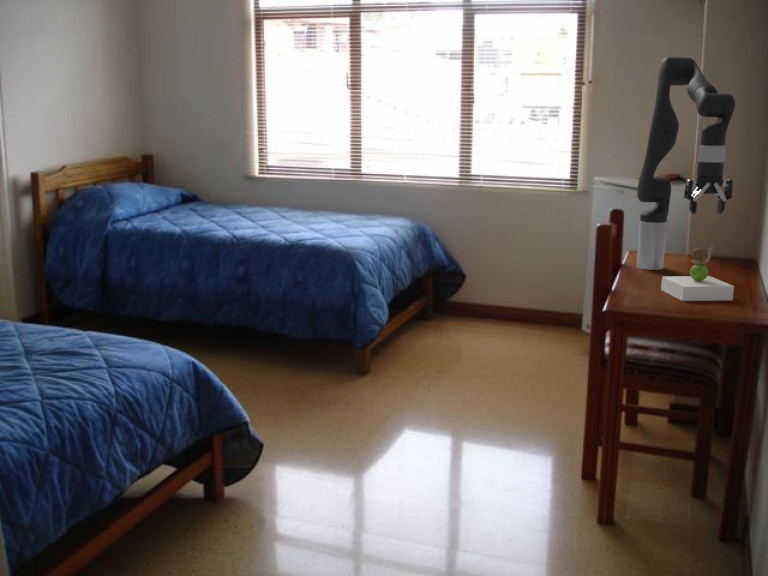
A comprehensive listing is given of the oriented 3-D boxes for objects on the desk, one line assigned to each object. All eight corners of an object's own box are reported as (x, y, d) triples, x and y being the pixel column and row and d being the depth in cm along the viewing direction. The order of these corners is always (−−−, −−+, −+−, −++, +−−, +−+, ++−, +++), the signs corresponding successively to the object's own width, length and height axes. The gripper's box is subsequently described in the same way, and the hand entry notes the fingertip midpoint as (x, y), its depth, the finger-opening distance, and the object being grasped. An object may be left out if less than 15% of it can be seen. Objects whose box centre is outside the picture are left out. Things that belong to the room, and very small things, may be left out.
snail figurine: (709, 283, 253) (712, 244, 251) (687, 281, 257) (690, 243, 254) (712, 280, 258) (715, 242, 256) (691, 278, 261) (693, 241, 259)
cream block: (660, 291, 265) (662, 276, 264) (708, 290, 267) (709, 276, 266) (682, 302, 250) (683, 286, 249) (732, 302, 251) (734, 286, 250)
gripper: (727, 159, 254) (722, 211, 257) (683, 159, 252) (678, 211, 256) (739, 161, 246) (734, 214, 250) (694, 161, 245) (689, 214, 248)
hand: (706, 213), depth 253 cm, fingers open, 8 cm apart
